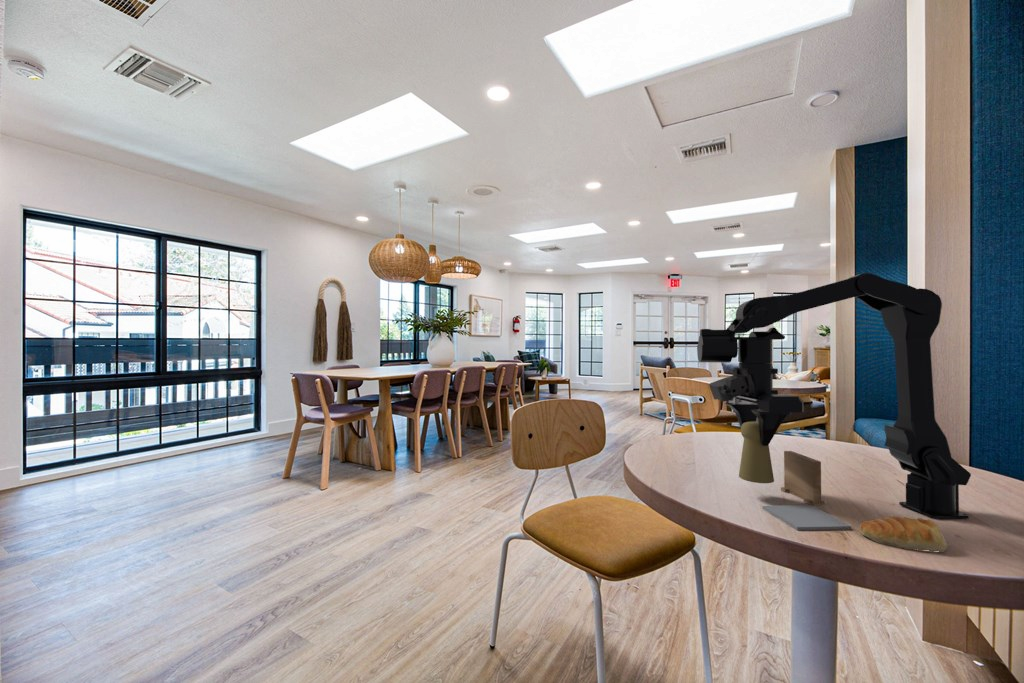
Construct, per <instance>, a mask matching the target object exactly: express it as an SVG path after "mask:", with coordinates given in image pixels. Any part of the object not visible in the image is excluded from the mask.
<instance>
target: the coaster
mask: <svg viewBox="0 0 1024 683" xmlns="http://www.w3.org/2000/svg"><path fill="white" fill-rule="evenodd" d="M761 509H762V510H764V511H766V512H768V513H769V514H770V515H772V516H773V517H775V518H776V519H778V520H780V521H781V522H783V523H785V524H786V525H789V526H790V527H792V528H793V529H794V530H797V531H826V530H828V531H829V530H832V531H835V530H838V531H840V530H842V531H843V530H853V529H852V528H853V527H852V525H850V524H849V523H846V522H844V521H843V520H840V519H838V518H836V517H834V516H832V515H831V514H829V513H827V512H825V511H823V510H821V509H818V508H816V506H813V505H812V504H798V505H797V504H796V505H795V504H791V505H789V504H788V505H787V504H786V505H784V504H783V505H782V504H781V505H762V507H761Z"/></svg>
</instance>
